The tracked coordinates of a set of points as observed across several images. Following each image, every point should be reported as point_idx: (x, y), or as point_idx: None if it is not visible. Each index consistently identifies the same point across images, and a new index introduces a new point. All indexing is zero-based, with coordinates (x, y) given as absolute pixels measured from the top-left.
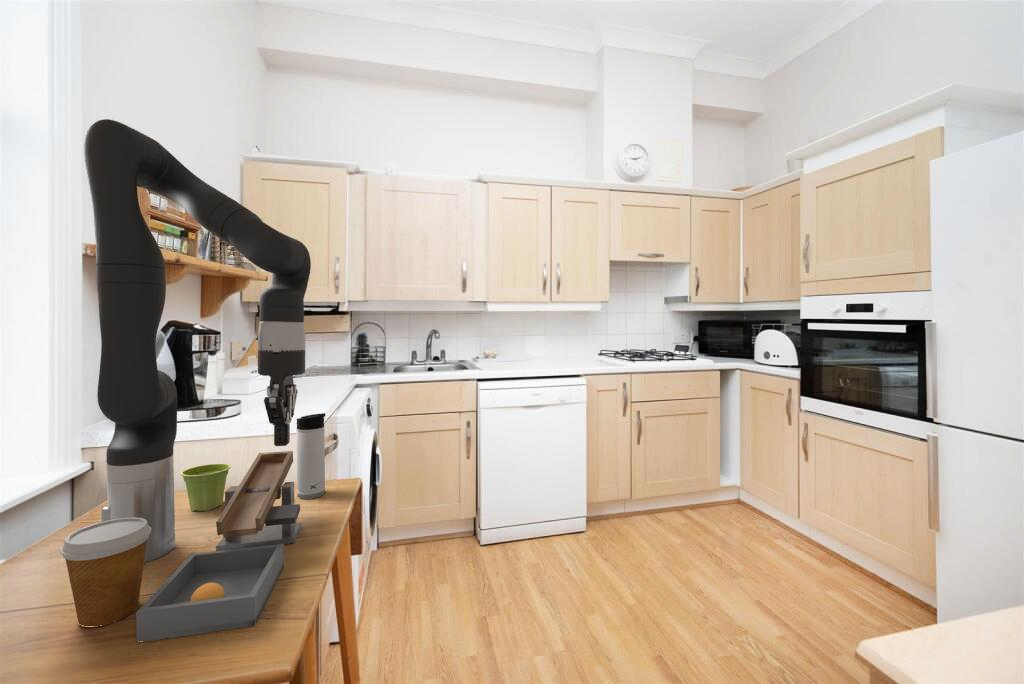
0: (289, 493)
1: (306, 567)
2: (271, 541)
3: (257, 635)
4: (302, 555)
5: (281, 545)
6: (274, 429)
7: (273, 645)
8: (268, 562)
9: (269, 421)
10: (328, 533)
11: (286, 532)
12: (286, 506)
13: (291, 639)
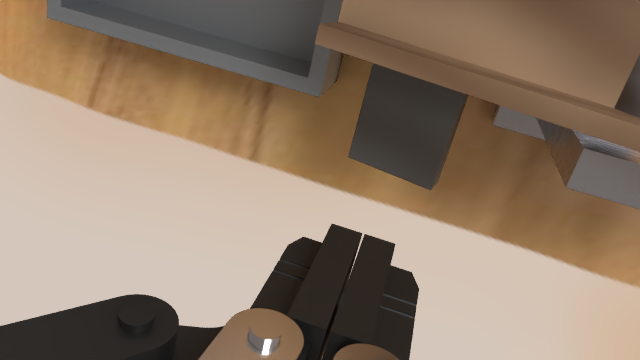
0: (563, 169)
1: (306, 135)
2: None
3: None
4: None
5: (308, 90)
6: (300, 294)
7: (24, 46)
8: (209, 51)
9: (100, 303)
10: (507, 223)
11: None
12: (437, 141)
13: (33, 78)
